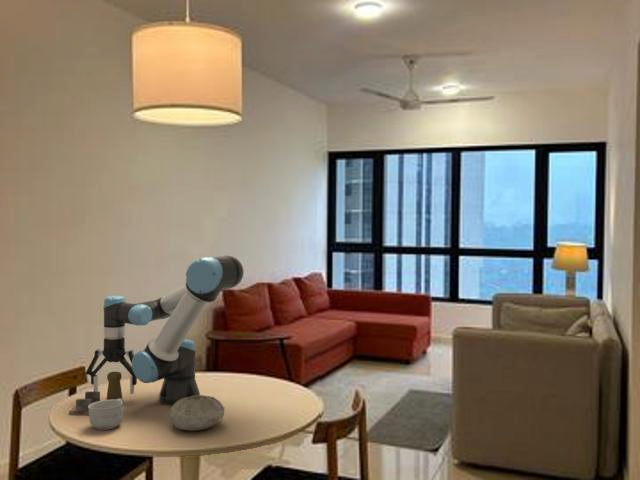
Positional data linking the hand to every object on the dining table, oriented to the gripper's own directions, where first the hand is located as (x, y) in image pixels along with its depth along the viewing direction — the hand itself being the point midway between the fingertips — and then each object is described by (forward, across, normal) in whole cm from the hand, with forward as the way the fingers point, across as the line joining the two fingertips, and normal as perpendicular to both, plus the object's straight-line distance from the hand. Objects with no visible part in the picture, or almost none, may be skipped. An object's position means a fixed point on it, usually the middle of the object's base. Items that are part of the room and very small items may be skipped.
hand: (113, 393), depth 235 cm
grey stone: (+3, -36, +28) cm, 46 cm away
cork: (+3, 0, 0) cm, 3 cm away
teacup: (+3, -7, +28) cm, 29 cm away
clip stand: (+3, +6, +11) cm, 13 cm away
